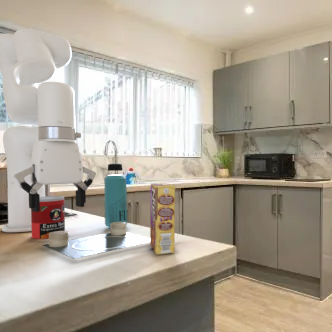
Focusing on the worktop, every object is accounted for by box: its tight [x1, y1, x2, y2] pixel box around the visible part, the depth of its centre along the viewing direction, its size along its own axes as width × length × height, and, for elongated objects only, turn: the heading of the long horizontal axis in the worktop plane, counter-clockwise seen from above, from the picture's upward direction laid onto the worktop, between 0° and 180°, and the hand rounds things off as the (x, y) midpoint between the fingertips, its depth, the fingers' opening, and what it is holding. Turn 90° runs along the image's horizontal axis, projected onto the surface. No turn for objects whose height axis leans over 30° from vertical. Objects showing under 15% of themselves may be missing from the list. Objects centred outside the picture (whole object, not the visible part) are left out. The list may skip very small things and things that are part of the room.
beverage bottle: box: [103, 163, 129, 228], centre depth 98 cm, size 6×7×20 cm
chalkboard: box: [41, 231, 150, 260], centre depth 80 cm, size 18×20×1 cm
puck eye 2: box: [110, 222, 127, 236], centre depth 89 cm, size 4×4×3 cm
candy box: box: [149, 182, 176, 255], centre depth 75 cm, size 9×4×15 cm, turn 26°
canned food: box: [31, 195, 66, 240], centre depth 88 cm, size 8×8×11 cm
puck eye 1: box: [48, 230, 70, 247], centre depth 77 cm, size 4×4×3 cm
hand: (58, 208), depth 77 cm, fingers open, 9 cm apart
